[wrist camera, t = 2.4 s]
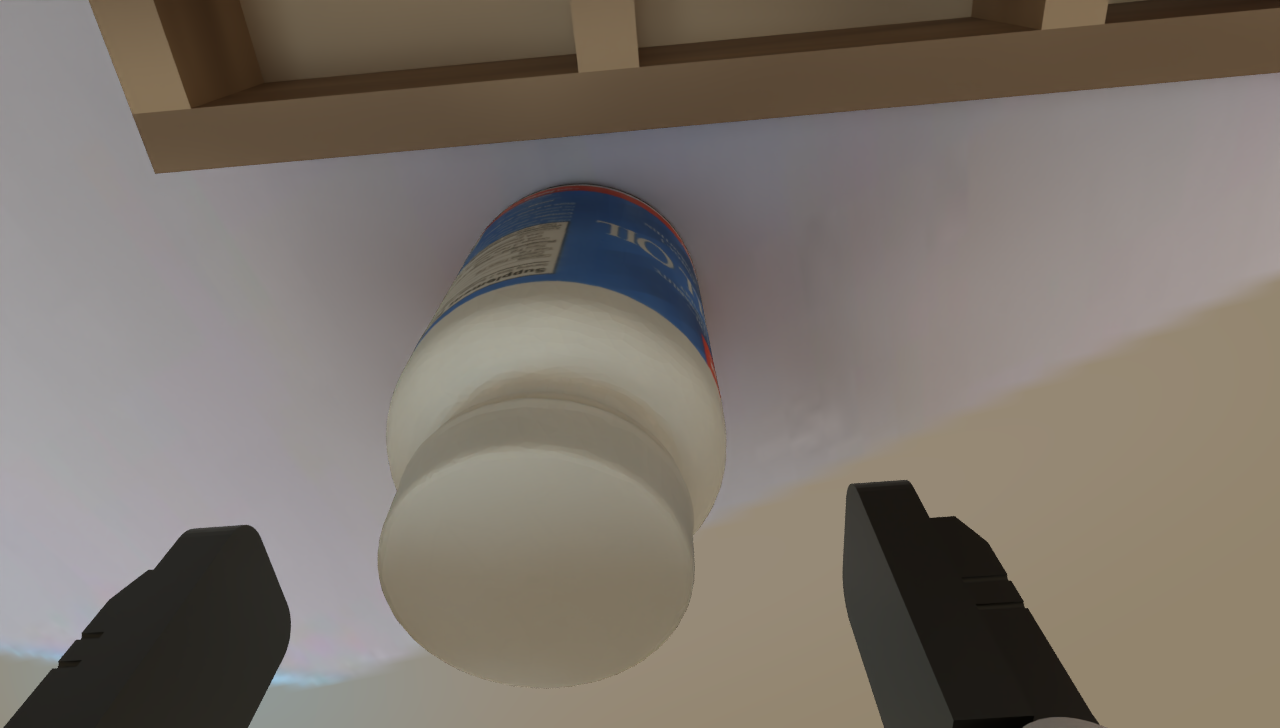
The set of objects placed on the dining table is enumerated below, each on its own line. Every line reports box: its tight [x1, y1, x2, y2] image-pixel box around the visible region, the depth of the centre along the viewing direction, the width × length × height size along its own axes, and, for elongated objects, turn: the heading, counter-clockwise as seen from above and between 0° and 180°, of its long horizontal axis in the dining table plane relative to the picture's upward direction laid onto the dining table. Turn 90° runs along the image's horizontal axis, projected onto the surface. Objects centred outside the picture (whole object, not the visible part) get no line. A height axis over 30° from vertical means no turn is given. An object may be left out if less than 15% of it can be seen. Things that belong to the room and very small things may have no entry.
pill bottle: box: [378, 184, 726, 688], centre depth 14 cm, size 6×5×10 cm
